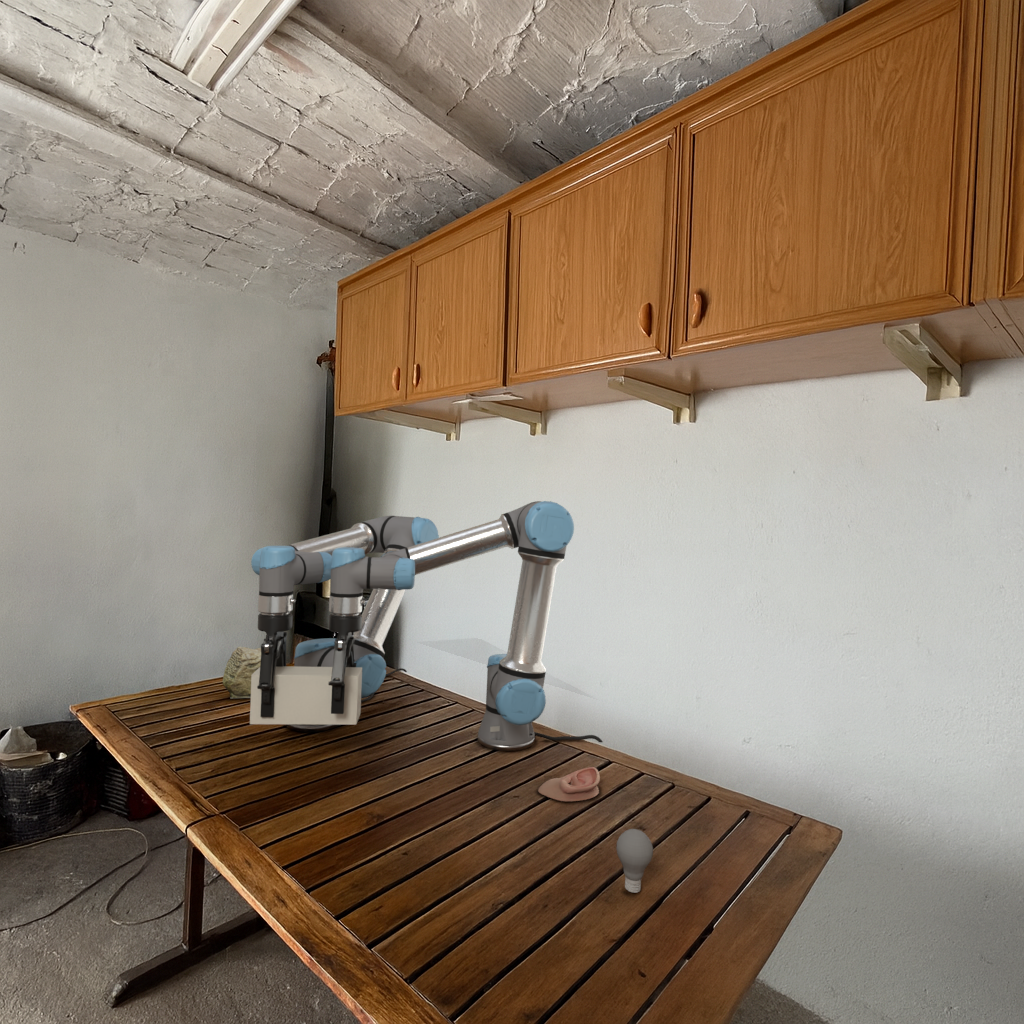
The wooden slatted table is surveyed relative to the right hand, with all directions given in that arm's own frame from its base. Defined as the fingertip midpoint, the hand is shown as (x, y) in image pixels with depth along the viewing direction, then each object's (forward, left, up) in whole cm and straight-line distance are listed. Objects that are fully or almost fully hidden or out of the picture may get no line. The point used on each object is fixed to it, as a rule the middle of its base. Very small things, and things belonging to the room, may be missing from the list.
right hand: (342, 703), depth 149 cm
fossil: (+13, -62, -15) cm, 65 cm away
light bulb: (-34, +67, -15) cm, 76 cm away
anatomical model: (-44, +32, -15) cm, 56 cm away
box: (+7, -3, -4) cm, 9 cm away
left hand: (+15, -6, -2) cm, 16 cm away
